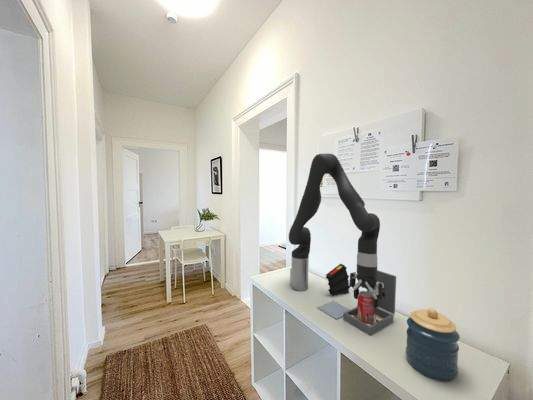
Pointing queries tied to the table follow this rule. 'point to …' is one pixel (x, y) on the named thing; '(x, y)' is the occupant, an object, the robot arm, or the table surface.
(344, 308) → the rubber mat
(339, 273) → the magazine
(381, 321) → the case
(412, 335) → the canister
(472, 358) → the table surface
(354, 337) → the table surface
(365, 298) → the beverage can
